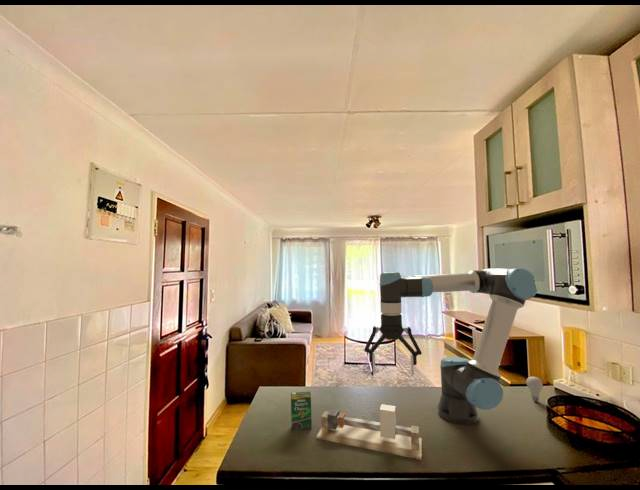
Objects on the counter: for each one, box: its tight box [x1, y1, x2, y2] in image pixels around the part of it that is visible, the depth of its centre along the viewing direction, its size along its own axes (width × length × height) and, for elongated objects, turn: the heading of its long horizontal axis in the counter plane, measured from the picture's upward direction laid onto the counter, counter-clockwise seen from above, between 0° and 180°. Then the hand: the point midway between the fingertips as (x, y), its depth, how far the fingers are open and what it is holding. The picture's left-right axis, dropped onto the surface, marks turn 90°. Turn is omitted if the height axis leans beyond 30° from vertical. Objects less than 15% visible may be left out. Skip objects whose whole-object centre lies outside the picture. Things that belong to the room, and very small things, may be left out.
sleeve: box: [379, 403, 397, 439], centre depth 103 cm, size 5×4×9 cm
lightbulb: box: [525, 376, 544, 402], centre depth 133 cm, size 6×6×11 cm
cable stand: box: [316, 408, 423, 461], centre depth 105 cm, size 36×11×7 cm, turn 70°
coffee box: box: [290, 391, 313, 431], centre depth 113 cm, size 8×3×13 cm, turn 93°
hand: (393, 372), depth 106 cm, fingers open, 13 cm apart
